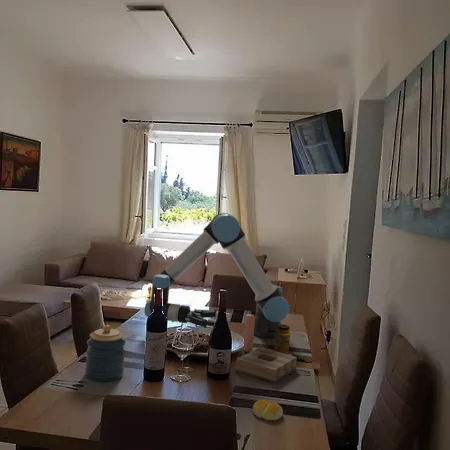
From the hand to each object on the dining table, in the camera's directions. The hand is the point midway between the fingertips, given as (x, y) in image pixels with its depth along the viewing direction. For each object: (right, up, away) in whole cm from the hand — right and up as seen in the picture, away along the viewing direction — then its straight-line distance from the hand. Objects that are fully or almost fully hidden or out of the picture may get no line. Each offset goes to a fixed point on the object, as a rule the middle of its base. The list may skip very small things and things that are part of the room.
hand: (226, 320), depth 201 cm
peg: (+9, -12, -1) cm, 15 cm away
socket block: (+15, -14, -23) cm, 31 cm away
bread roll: (+12, -17, -58) cm, 62 cm away
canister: (-42, -11, -38) cm, 58 cm away
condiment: (+22, -14, -3) cm, 26 cm away
